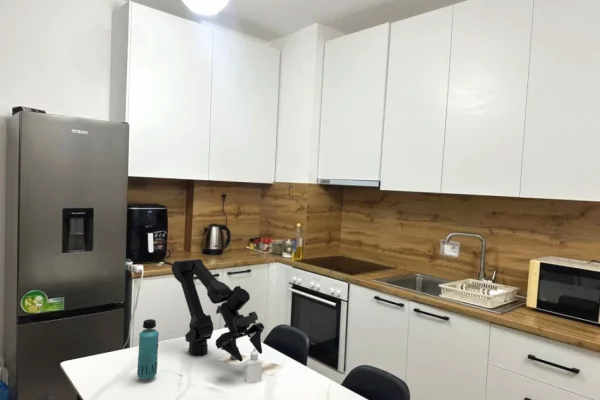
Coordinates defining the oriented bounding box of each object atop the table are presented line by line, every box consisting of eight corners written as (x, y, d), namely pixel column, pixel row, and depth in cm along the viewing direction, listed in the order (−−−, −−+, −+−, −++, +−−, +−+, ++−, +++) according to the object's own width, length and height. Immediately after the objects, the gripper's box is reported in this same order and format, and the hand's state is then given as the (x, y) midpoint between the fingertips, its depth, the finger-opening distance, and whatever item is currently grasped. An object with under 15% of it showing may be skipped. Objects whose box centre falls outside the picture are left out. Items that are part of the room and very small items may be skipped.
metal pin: (228, 359, 153) (229, 348, 153) (233, 356, 156) (233, 346, 156) (235, 361, 152) (235, 350, 152) (239, 358, 155) (240, 347, 155)
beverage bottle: (137, 385, 132) (140, 324, 132) (135, 376, 138) (138, 318, 137) (158, 381, 135) (161, 322, 135) (155, 373, 141) (158, 316, 140)
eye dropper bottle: (259, 387, 135) (261, 351, 135) (243, 385, 136) (245, 350, 135) (261, 381, 140) (263, 346, 139) (245, 379, 140) (247, 345, 140)
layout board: (212, 365, 150) (212, 362, 150) (230, 354, 161) (230, 351, 161) (268, 381, 140) (268, 378, 140) (284, 368, 151) (284, 365, 151)
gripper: (222, 310, 134) (243, 352, 127) (262, 300, 149) (283, 338, 142) (206, 327, 139) (226, 369, 132) (246, 316, 154) (265, 353, 147)
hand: (251, 357), depth 138 cm, fingers open, 9 cm apart
